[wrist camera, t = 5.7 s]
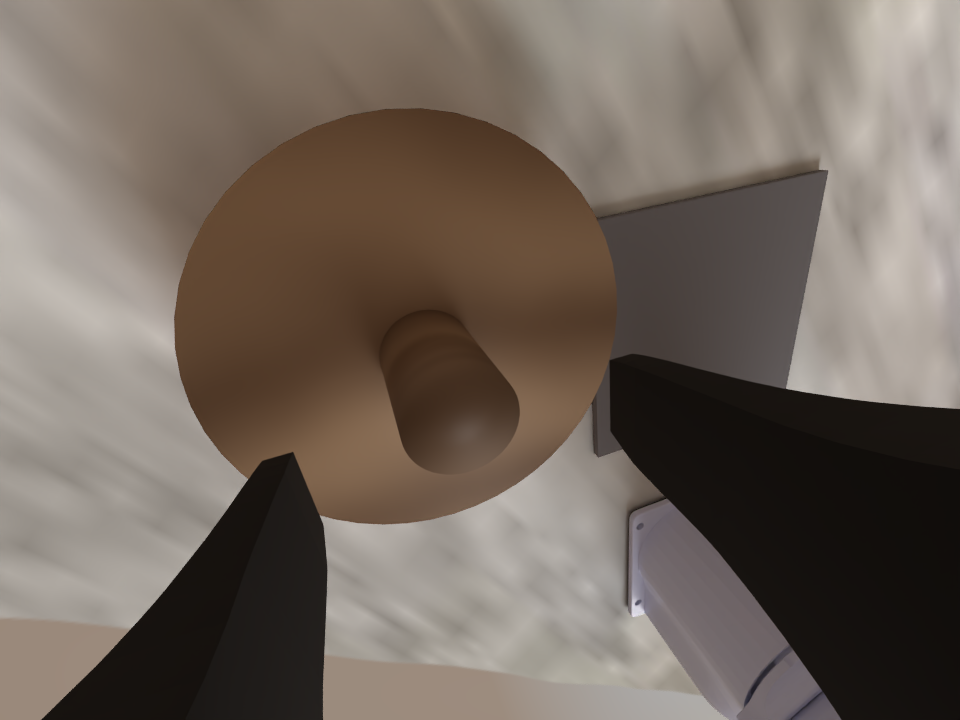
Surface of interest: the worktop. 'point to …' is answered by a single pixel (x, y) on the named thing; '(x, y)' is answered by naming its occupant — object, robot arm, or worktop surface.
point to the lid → (397, 313)
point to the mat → (713, 282)
